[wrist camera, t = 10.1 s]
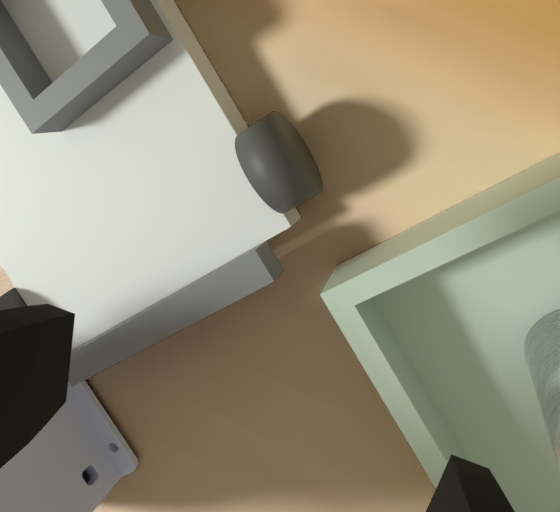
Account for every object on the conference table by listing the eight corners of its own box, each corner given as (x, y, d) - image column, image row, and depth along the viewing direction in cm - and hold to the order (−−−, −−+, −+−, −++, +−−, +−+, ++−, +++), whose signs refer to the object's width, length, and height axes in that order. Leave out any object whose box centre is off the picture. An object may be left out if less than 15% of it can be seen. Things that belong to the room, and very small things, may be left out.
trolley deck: (353, 226, 18) (339, 249, 15) (76, 374, 24) (29, 410, 21) (122, -174, 16) (59, -231, 14) (-116, 87, 22) (-194, 85, 19)
